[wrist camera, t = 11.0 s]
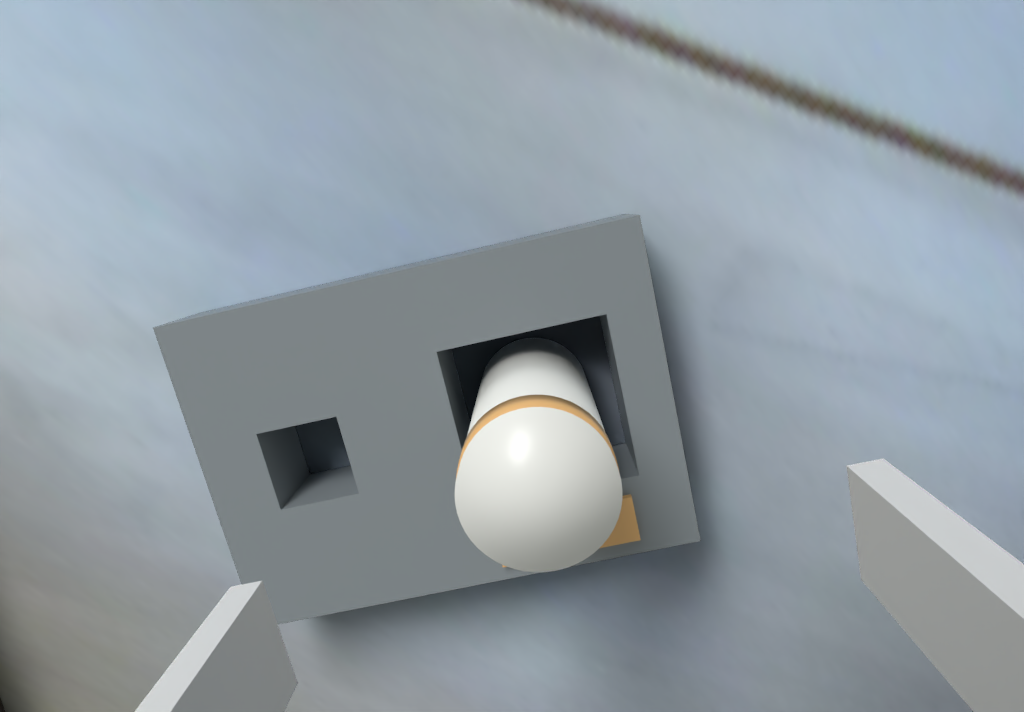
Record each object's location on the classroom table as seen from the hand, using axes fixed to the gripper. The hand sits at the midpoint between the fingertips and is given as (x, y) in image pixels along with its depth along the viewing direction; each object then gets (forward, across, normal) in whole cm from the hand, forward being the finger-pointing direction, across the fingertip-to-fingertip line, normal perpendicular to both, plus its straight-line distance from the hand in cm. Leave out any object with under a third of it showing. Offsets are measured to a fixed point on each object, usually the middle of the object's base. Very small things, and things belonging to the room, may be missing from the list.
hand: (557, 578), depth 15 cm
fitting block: (+17, -5, -1) cm, 18 cm away
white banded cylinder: (+17, -1, -1) cm, 17 cm away
